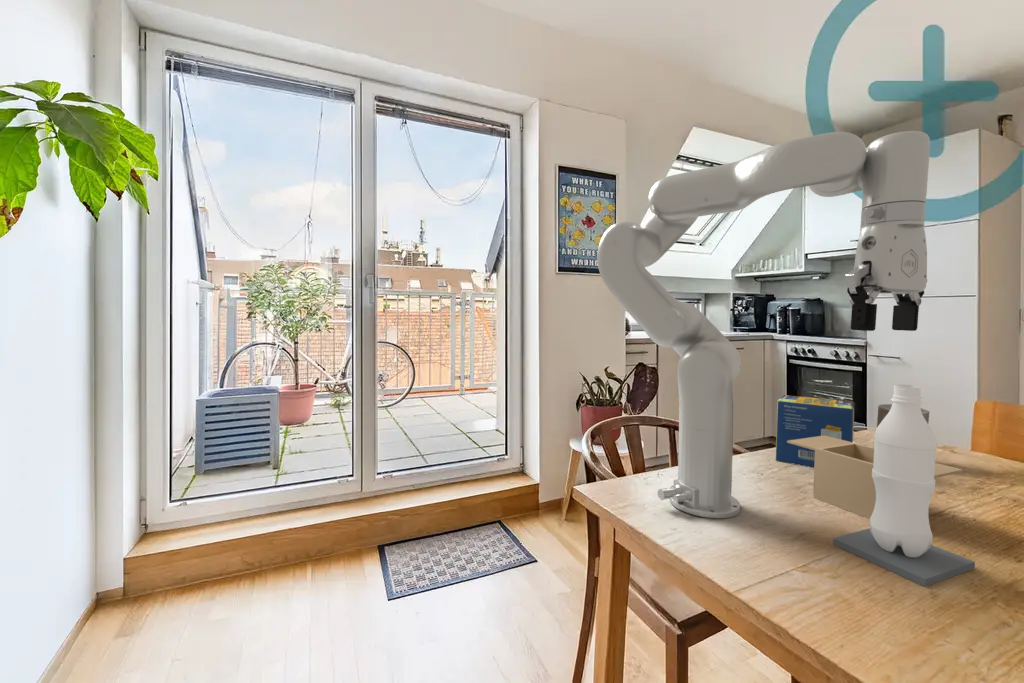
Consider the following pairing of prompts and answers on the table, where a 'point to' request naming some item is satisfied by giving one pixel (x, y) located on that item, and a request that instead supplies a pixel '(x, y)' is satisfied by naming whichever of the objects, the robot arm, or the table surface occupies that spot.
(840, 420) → the protein box
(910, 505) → the water bottle
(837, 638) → the table surface
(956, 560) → the slate mat
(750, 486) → the table surface
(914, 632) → the table surface
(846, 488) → the carton
